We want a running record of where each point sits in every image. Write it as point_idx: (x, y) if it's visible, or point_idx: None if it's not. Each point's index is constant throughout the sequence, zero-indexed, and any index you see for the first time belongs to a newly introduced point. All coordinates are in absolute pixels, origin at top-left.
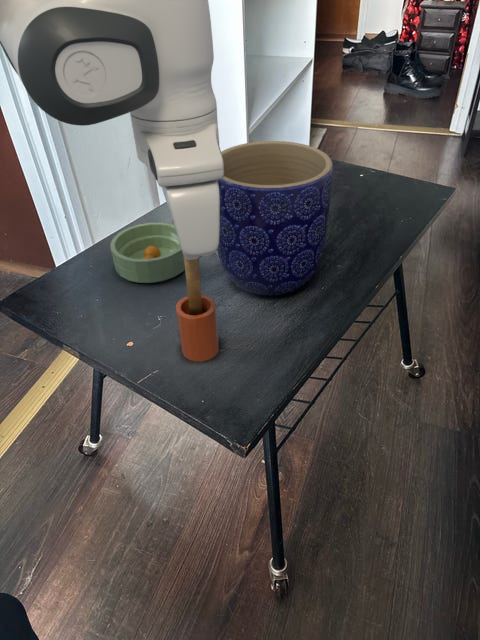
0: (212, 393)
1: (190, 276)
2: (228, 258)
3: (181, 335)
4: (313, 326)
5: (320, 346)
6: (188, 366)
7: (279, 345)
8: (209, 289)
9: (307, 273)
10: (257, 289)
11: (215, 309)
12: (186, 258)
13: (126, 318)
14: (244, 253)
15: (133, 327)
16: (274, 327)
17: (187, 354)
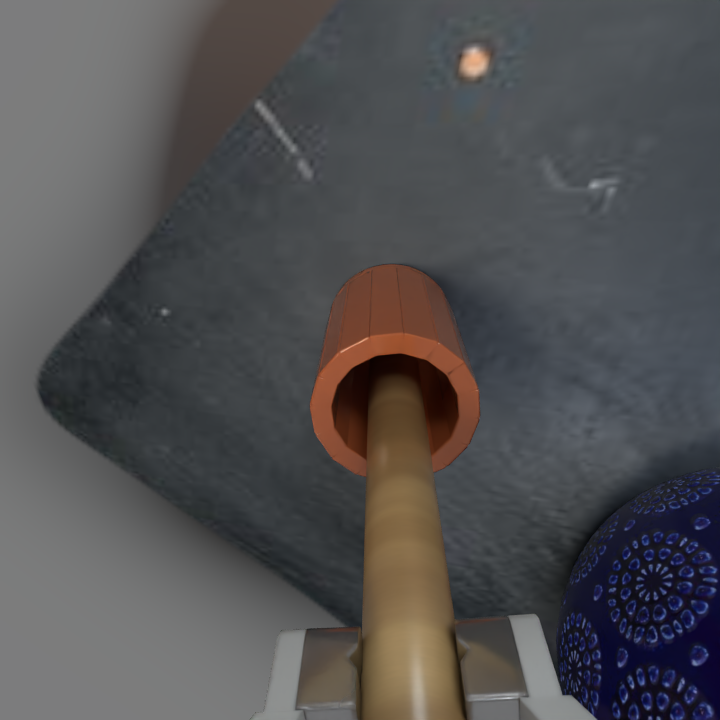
0: (193, 340)
1: (367, 515)
2: (712, 554)
3: (359, 300)
4: None
5: (341, 611)
6: (314, 279)
7: (363, 529)
8: (712, 379)
9: None
10: (587, 549)
11: None
12: (280, 635)
13: (649, 35)
14: (657, 647)
15: (576, 72)
16: (442, 532)
17: (345, 288)
